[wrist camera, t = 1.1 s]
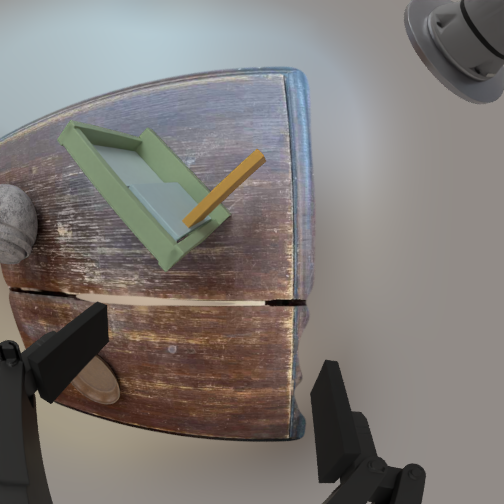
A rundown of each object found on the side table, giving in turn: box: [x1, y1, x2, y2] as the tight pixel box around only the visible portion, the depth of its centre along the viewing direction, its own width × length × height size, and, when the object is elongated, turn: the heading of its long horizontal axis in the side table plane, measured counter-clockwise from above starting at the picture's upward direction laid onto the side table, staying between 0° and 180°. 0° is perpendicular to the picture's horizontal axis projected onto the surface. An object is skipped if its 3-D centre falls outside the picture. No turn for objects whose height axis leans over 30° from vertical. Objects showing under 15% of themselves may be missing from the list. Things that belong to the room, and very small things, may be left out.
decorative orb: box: [0, 184, 38, 264], centre depth 33 cm, size 15×14×15 cm
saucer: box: [71, 355, 120, 404], centre depth 46 cm, size 15×15×3 cm
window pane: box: [129, 149, 266, 241], centre depth 28 cm, size 10×7×13 cm, turn 133°
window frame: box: [57, 120, 231, 272], centre depth 29 cm, size 6×17×16 cm, turn 43°
